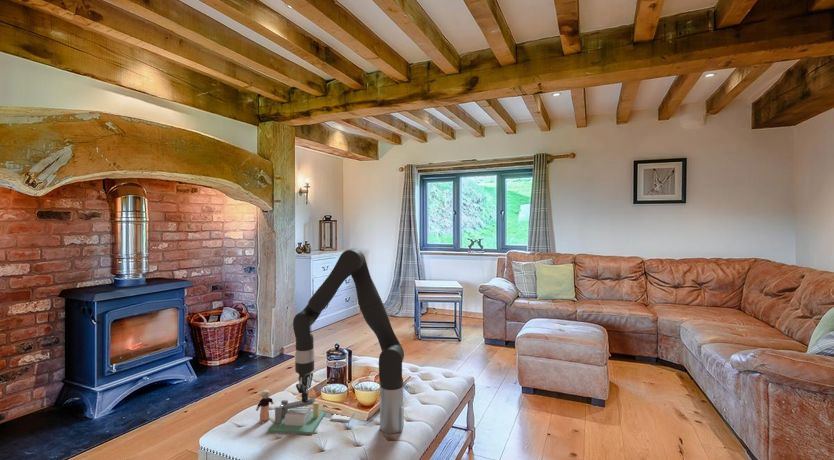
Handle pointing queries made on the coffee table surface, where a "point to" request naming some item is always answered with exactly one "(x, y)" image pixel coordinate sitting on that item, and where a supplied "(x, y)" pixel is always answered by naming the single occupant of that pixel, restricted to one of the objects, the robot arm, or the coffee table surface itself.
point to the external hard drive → (340, 418)
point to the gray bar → (297, 404)
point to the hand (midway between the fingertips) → (305, 401)
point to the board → (298, 428)
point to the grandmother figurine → (264, 406)
